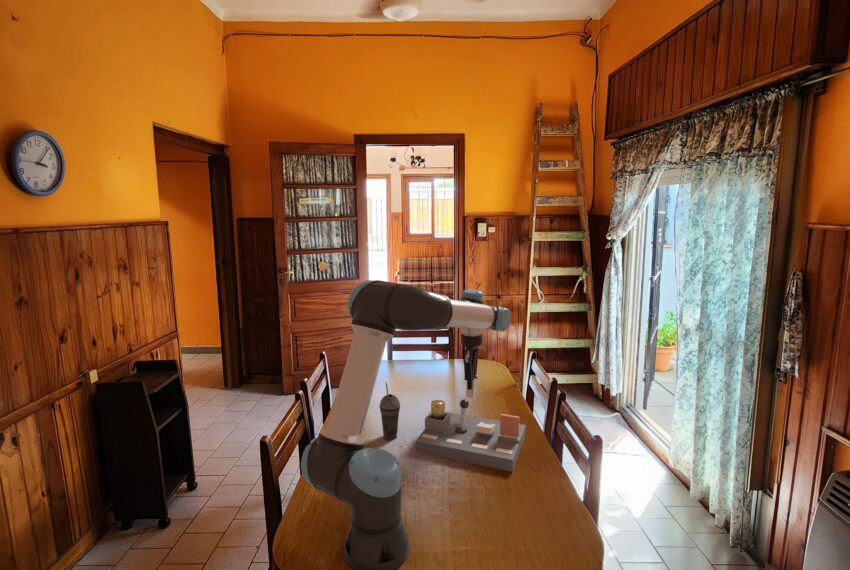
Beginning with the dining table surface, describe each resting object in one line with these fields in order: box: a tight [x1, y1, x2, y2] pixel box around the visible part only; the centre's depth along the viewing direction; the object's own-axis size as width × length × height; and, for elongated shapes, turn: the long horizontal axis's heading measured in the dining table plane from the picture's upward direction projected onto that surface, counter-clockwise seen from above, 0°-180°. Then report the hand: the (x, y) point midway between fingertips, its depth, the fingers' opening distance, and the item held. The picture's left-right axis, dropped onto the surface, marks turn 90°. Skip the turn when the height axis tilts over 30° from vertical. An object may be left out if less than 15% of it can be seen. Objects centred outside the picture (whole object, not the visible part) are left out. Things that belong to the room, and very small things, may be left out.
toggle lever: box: [459, 398, 470, 426], centre depth 160 cm, size 3×3×9 cm
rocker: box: [476, 422, 495, 434], centre depth 156 cm, size 7×5×2 cm
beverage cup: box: [378, 382, 401, 441], centre depth 161 cm, size 7×7×20 cm
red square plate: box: [499, 413, 520, 438], centre depth 153 cm, size 1×6×7 cm, turn 69°
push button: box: [430, 399, 446, 420], centre depth 161 cm, size 5×5×6 cm
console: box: [415, 411, 527, 473], centre depth 158 cm, size 24×32×8 cm
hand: (470, 396), depth 168 cm, fingers closed
